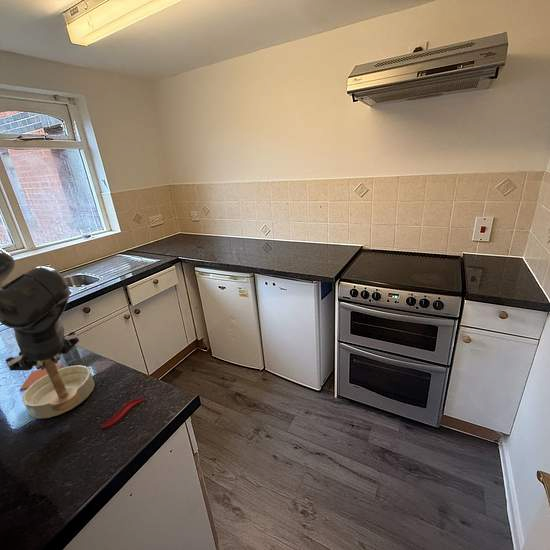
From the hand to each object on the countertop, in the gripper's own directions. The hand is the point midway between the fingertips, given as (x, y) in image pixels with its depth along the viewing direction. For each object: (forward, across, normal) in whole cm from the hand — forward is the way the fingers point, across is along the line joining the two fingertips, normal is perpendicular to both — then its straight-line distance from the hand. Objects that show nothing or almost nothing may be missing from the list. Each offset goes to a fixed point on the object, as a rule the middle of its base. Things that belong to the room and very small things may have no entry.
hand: (47, 363), depth 72 cm
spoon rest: (+33, +1, -8) cm, 34 cm away
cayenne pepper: (+6, -10, +20) cm, 23 cm away
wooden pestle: (+6, 0, +9) cm, 11 cm away
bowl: (+21, -1, +5) cm, 21 cm away
